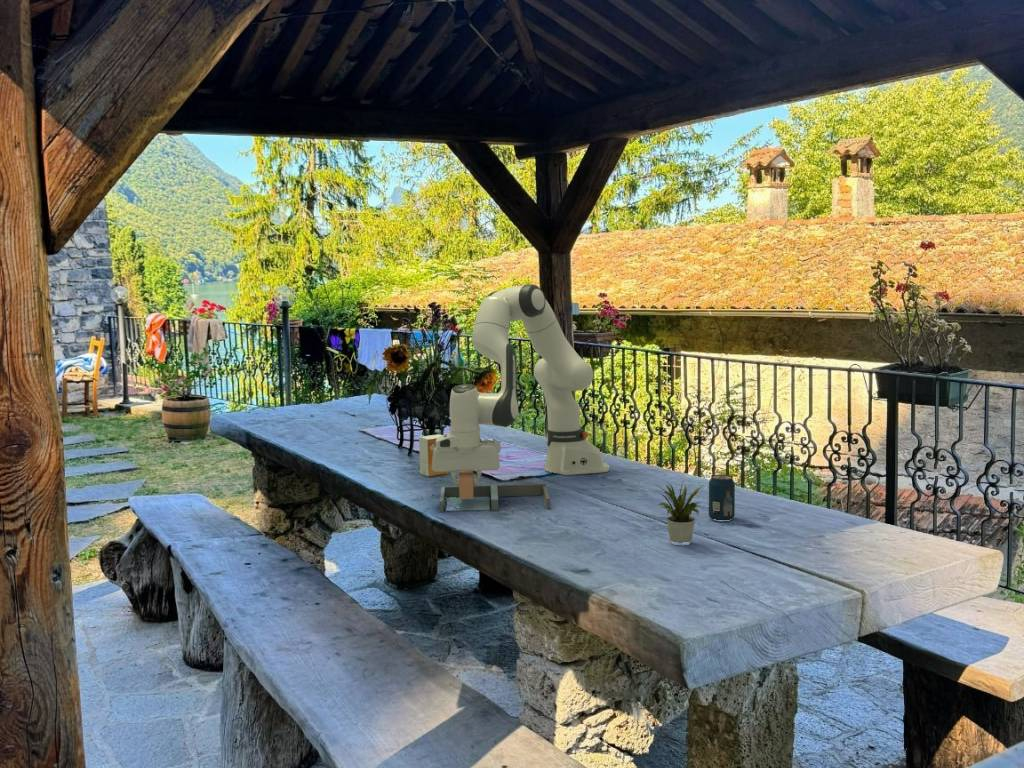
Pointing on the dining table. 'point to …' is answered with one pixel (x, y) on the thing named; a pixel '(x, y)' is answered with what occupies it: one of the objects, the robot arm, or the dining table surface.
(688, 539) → the house plant
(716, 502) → the soda can
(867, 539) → the dining table surface
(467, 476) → the long orange rectangular block
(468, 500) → the gate frame with panel
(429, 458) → the small box
